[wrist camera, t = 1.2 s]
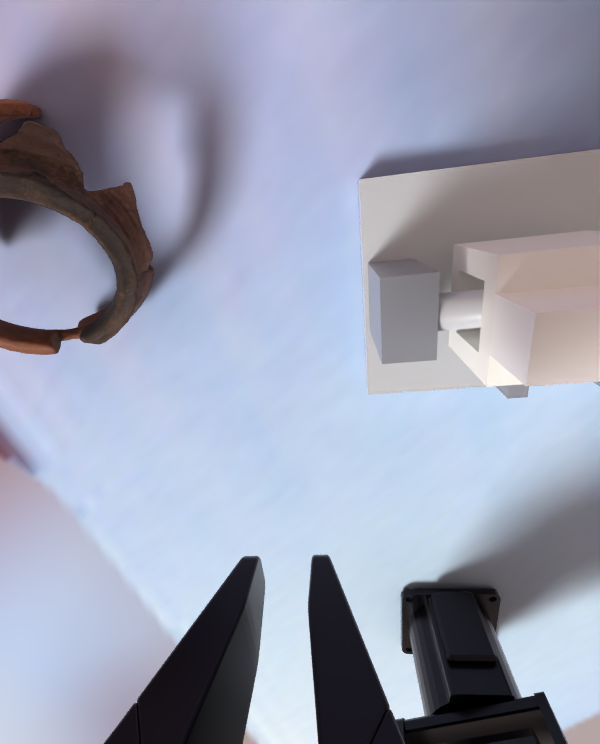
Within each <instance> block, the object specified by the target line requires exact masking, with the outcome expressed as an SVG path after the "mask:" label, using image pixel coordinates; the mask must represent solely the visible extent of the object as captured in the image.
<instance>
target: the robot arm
mask: <svg viewBox="0 0 600 744" xmlns="http://www.w3.org/2000/svg"><path fill="white" fill-rule="evenodd" d="M264 594H265V578H264V573H263V569H262V564H261V559H260V558H259V557H258V556H245V557H243V558H242V559H241V560H240V561H239V562H238V564H237V565H236V567H235V568H234V569H233V571H232V572H231V573H230V575H229V576H228V577H227V579H226V580H225V581H224V583H223V584H222V585H221V587H220V588H219V590H218V591H217V592H216V594H215V595H214V596H213V598H212V599H211V600H210V602H209V603H208V604H207V606H206V607H205V608H204V610H203V611H202V612H201V614H200V615H199V617H198V618H197V619H196V621H195V622H194V623H193V625H192V626H191V627H190V629H189V630H188V631H187V633H186V634H185V635H184V637H183V638H182V639H181V641H180V642H179V644H178V645H177V646H176V648H175V649H174V651H173V652H172V653H171V655H170V656H169V657H168V658H167V660H166V661H165V662H164V664H163V665H162V667H161V668H160V669H159V671H158V672H157V673H156V675H155V676H154V677H153V679H152V680H151V682H150V683H149V684H148V686H147V687H146V688H145V690H144V691H143V692H142V694H141V695H140V696H139V698H138V700H137V703H134V704H133V706H132V707H131V708H130V710H129V711H128V712H127V714H126V715H125V716H124V718H123V719H122V721H121V722H120V723H119V724H118V726H117V727H116V728H115V730H114V731H113V732H112V734H111V735H110V736H109V737H108V739H107V740H106V741H105V743H104V744H243V739H244V734H245V729H246V724H247V719H248V713H249V708H250V703H251V698H252V692H253V687H254V682H255V677H256V671H257V665H258V658H259V649H260V639H261V627H262V616H263V605H264ZM499 605H500V596H499V594H498V592H497V590H495V589H407V590H404V591H402V592H401V646H402V651H403V652H404V653H406V654H413V657H414V662H415V667H416V673H417V678H418V683H419V688H420V693H421V699H422V704H423V709H424V714H425V716H423V717H418V718H413V719H407V720H405V719H404V718H402V719H396V720H395V718H394V716H393V713H392V711H391V710H390V709H389V704H388V701H387V699H386V696H385V694H384V691H383V689H382V686H381V684H380V681H379V679H378V676H377V674H376V671H375V669H374V666H373V664H372V661H371V659H370V656H369V654H368V651H367V649H366V646H365V644H364V641H363V639H362V636H361V634H360V631H359V629H358V626H357V624H356V621H355V619H354V616H353V614H352V611H351V609H350V606H349V604H348V601H347V599H346V596H345V594H344V591H343V589H342V586H341V584H340V581H339V579H338V576H337V574H336V571H335V569H334V566H333V564H332V561H331V559H330V557H329V556H328V555H314V556H313V557H312V562H311V574H310V586H309V598H308V616H309V629H310V642H311V655H312V668H313V681H314V694H315V707H316V720H317V733H318V744H568V743H567V740H566V738H565V736H564V734H563V732H562V730H561V728H560V725H559V723H558V721H557V719H556V717H555V715H554V713H553V710H552V708H551V706H550V704H549V702H548V700H547V698H546V696H545V693H544V692H539V693H534V695H535V696H529V697H524V698H522V697H521V695H520V692H519V690H518V687H517V685H516V682H515V680H514V677H513V675H512V672H511V670H510V667H509V665H508V662H507V660H506V657H505V655H504V652H503V650H502V647H501V645H500V642H499V640H498V637H497V635H496V626H497V619H498V612H499Z"/></svg>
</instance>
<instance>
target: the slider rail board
mask: <svg viewBox="0 0 600 744" xmlns="http://www.w3.org/2000/svg"><path fill="white" fill-rule="evenodd" d="M358 194H359V218H360V241H361V265H362V288H363V312H364V335H365V359H366V382H367V390H368V394H381V393H397V392H412V391H428V390H443V389H459V388H474V387H486V386H485V385H484V383H483V382H482V381H481V380H480V379H479V378H478V377H477V376H476V375H475V374H474V373H473V372H472V370H471V369H470V368H469V367H468V366H467V365H466V364H465V363H464V362H463V361H462V360H461V359H460V357H459V356H458V355H457V354H456V353H455V352H454V351H453V350H452V349H451V348H450V347H449V330H457V329H469V328H481V318H482V306H483V294H484V289H477V290H466V291H455V292H451V285H452V265H453V244H462V243H472V242H481V241H491V240H500V239H510V238H519V237H529V236H538V235H548V234H557V233H567V232H576V231H586V230H590V231H600V149H595V150H587V151H579V152H571V153H563V154H555V155H547V156H540V157H532V158H524V159H516V160H508V161H500V162H492V163H484V164H476V165H468V166H461V167H453V168H445V169H437V170H429V171H421V172H413V173H405V174H397V175H389V176H382V177H374V178H366V179H360V180H359V181H358ZM594 383H596V384H597V385H599V386H600V382H594ZM496 387H497V388H498V389H499V390H500V391H501V392H502V393H503V394H504V395H505V396H506V397H507V398H520V397H528V390H529V386H525V385H524V384H521V385H506V386H496Z"/></svg>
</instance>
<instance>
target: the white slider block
mask: <svg viewBox="0 0 600 744" xmlns="http://www.w3.org/2000/svg"><path fill="white" fill-rule="evenodd" d="M477 289H484V294H483V306H482V318H481V328H469V329H457V330H449V347H450V348H451V349H452V350H453V351H454V352H455V353H456V354H457V355H458V356H459V357H460V359H461V360H462V361H463V362H464V363H465V364H466V365H467V366H468V367H469V368H470V369H471V370H472V372H473V373H474V374H475V375H476V376H477V377H478V378H479V379H480V380H481V381H482V382H483V383H484V385H485V386H486V387H490V386H506V385H521V384H524V385H525V386H537V385H553V384H569V383H584V382H600V231H590V230H586V231H576V232H567V233H557V234H548V235H538V236H529V237H519V238H510V239H500V240H491V241H481V242H472V243H462V244H453V265H452V285H451V292H455V291H466V290H477Z"/></svg>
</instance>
